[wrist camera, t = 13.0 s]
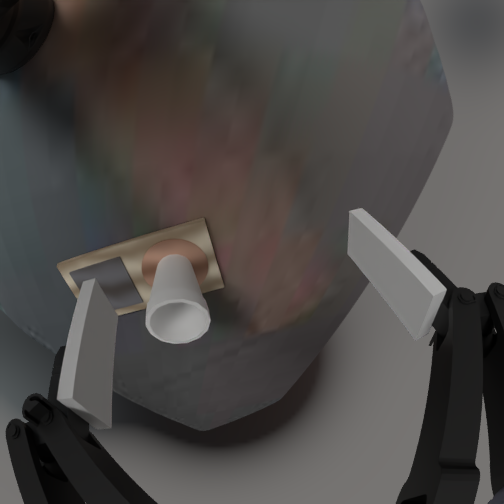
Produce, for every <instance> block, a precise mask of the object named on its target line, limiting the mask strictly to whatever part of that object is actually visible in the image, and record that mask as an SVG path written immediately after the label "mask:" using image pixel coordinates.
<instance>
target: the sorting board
mask: <svg viewBox="0 0 504 504" xmlns="http://www.w3.org/2000/svg"><path fill="white" fill-rule="evenodd" d="M173 254H178V255H181V256H184V257H186V258H187V259H188V260H189V261H190V262H191V265H192V267H193V270H194V273H195V276H196V279H197V282H198V284H199V287H200V290H201V293H206V292H209V291H213V290H217V289H220V288H224V284H223V280H222V277H221V274H220V270H219V267H218V264H217V260H216V257H215V254H214V250H213V247H212V243H211V240H210V237H209V233H208V230H207V226H206V223H205V219H204V218H200V219H197V220H193V221H190V222H186V223H183V224H179V225H176V226H172V227H169V228H166V229H162V230H159V231H155V232H152V233H149V234H146V235H142V236H139V237H136V238H133V239H129V240H126V241H123V242H120V243H117V244H114V245H110V246H107V247H104V248H101V249H98V250H95V251H92V252H89V253H86V254H83V255H80V256H77V257H74V258H71V259H68V260H66V261H63V262H60V263H58V265H57V268H58V269H59V271H60V273H61V274H62V276H63V278H64V279H65V281H66V282H67V284H68V286H69V287H70V289H71V290H72V292H73V293H74V295H75V296H76V298H77V299H78V297H79V293H80V290H81V287H82V283H83V281H87V280H90V279H94V278H96V280H97V282H98V283H99V285H100V287H101V289H102V290H103V292H104V294H105V295H106V297H107V299H108V300H109V302H110V304H111V305H112V307H113V308H114V310H115V312H116V313H117V315H122V314H126V313H130V312H134V311H138V310H142V309H146V308H147V303H148V302H149V299H150V294H151V290H152V286H153V282H154V278H155V274H156V270H157V266H158V263H159V262H160V261H161V259H162V258H164V257H166V256H168V255H173Z"/></svg>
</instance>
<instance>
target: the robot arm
mask: <svg viewBox="0 0 504 504" xmlns="http://www.w3.org/2000/svg"><path fill="white" fill-rule="evenodd" d="M53 15H54V5H53V1H52V0H0V74H5V73H9V72H12V71H14V70H16V69H18V68H20V67H21V66H23V65H24V64H25V63H26V62H28V61H29V60H30V59H31V58H32V57H33V56H34V55H35V53H36V52H37V51H38V50H39V48H40V47H41V45H42V44H43V42H44V41H45V39H46V37H47V35H48V33H49V30H50V28H51V25H52V21H53ZM347 254H348V255H349V256H350V258H351V259H352V260H353V261H354V262H355V264H356V265H357V266H358V267H359V268H360V270H361V271H362V272H363V273H364V275H365V276H366V277H367V278H368V280H369V281H370V282H371V283H372V285H373V286H374V287H375V288H376V289H377V291H378V292H379V293H380V295H381V296H382V297H383V299H384V300H385V301H386V302H387V304H388V305H389V306H390V308H391V309H392V310H393V312H394V313H395V314H396V316H397V317H398V318H399V319H400V321H401V322H402V324H403V325H404V326H405V328H406V329H407V330H408V332H409V333H410V334H411V336H412V337H413V339H414V340H415V341H416V340H418V339H420V338H422V337H423V336H425V335H427V334H428V333H429V330H430V328H431V326H433V327H434V328H435V330H436V331H435V333H434V335H433V337H432V339H431V341H430V344H429V346H431V345H432V343H433V341H434V345H433V356H432V366H431V375H430V383H429V390H428V396H427V403H426V408H425V414H424V419H423V424H422V429H421V434H420V438H419V442H418V446H417V450H416V454H415V458H414V461H413V465H412V468H411V472H410V475H409V477H408V479H407V481H406V483H405V484H404V485H403V487H402V489H401V492H400V494H399V496H398V499H397V502H396V504H474V501H475V497H476V493H477V489H478V485H479V481H480V471H479V469H478V468H477V467H476V465H475V459H476V453H477V445H478V439H479V431H480V422H481V411H482V395H483V397H484V403H485V410H486V418H487V426H488V436H489V450H490V473H491V485H492V490H493V495H494V497H493V499H492V500H490V501H489V502H488V504H504V285H502V284H500V283H492V284H491V285H490V286H489V287H488V290H487V292H484V293H477V294H475V293H474V292H473V291H471V290H470V289H467V288H461V287H460V288H457V287H456V286H455V285H454V284H453V283H452V282H451V281H450V280H449V279H448V278H447V277H446V276H445V275H444V274H443V273H442V272H441V271H440V270H439V269H438V268H437V267H436V266H435V265H434V264H433V263H431V261H430V260H429V259H428V258H427V257H426V256H425V255H424V254H422V253H420V252H418V251H416V250H412V251H409V250H408V249H407V248H406V247H405V246H403V245H402V244H401V243H400V242H399V241H398V240H397V239H396V238H395V237H394V236H393V235H392V234H391V233H390V232H388V231H387V230H386V229H385V228H384V227H383V226H382V225H381V224H380V223H378V222H377V221H376V220H375V219H374V218H373V217H372V216H371V215H369V214H368V213H367V212H366V211H365V210H364V209H362V208H359V209H355V210H351V211H349V234H348V252H347ZM117 321H118V315H117V313H116V312H115V310H114V308H113V307H112V305H111V304H110V302H109V300H108V299H107V297H106V295H105V294H104V292H103V290H102V289H101V287H100V285H99V283H98V282H97V280H96V278H94V279H90V280H87V281H83V283H82V287H81V290H80V293H79V297H78V300H77V304H76V307H75V311H74V315H73V319H72V323H71V327H70V331H69V335H68V340H67V344H66V346H62V347H60V349H59V351H58V353H57V354H56V356H55V361H54V368H53V371H52V377H51V381H50V387H49V393H48V400H47V399H45V398H44V397H43V396H42V395H41V394H37V393H35V394H31V395H30V396H28V397H27V399H26V400H25V402H24V404H23V408H22V414H23V417H24V418H25V419H26V420H28V421H29V422H27V423H24V422H22V421H21V420H19V419H13V420H11V421H10V422H9V424H8V425H7V428H6V440H7V445H8V449H9V454H10V458H11V462H12V466H13V470H14V473H15V477H16V480H17V483H18V486H19V490H20V493H21V495H22V499H23V501H24V504H85V502H86V504H157V502H155V501H154V500H153V499H152V498H151V497H150V496H148V494H147V493H146V492H145V491H143V489H142V488H141V487H139V486H138V485H137V484H136V483H135V481H134V480H132V478H131V477H130V476H129V475H128V474H127V473H126V472H125V471H124V470H123V469H122V468H121V467H120V466H119V465H118V463H117V462H116V461H115V460H114V459H113V458H112V457H111V455H110V454H109V453H108V452H107V451H106V450H105V449H104V447H103V446H102V445H101V444H100V442H99V441H98V440H97V439H96V438H95V436H94V435H93V434H92V433H91V432H90V431H89V424H90V425H92V426H93V427H94V428H96V429H108V428H111V425H112V424H111V422H112V421H111V419H112V417H111V416H112V381H113V364H114V351H115V340H116V330H117ZM494 328H495V329H496V331H497V333H496V332H495V329H494ZM84 501H85V502H84Z"/></svg>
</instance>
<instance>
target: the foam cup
mask: <svg viewBox="0 0 504 504" xmlns="http://www.w3.org/2000/svg"><path fill="white" fill-rule="evenodd" d="M210 321H211V319H210V314H209V309H208V306H207V303H206V300H205V299H204V298H203V296H202V293H201V290H200V287H199V284H198V282H197V279H196V276H195V273H194V270H193V267H192V265H191V262H190V261H189V260H188V259H187V258H186V257H184V256H181V255H178V254H173V255H168V256H166V257H164V258H162V259H161V261H160V262H159V263H158V266H157V270H156V274H155V278H154V282H153V286H152V290H151V294H150V299H149V302H148V303H147V309H146V327H147V328H148V330H149V332H150V334H151V335H153V336H154V337H156V338H157V339H159V340H161V341H164V342H168V343H173V344H178V343H188V342H191V341H193V340H196V339H198V338H200V337H201V336H202V335H203V334H204V333H205V332H206V331H207V330H208V328H209V325H210Z"/></svg>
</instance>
